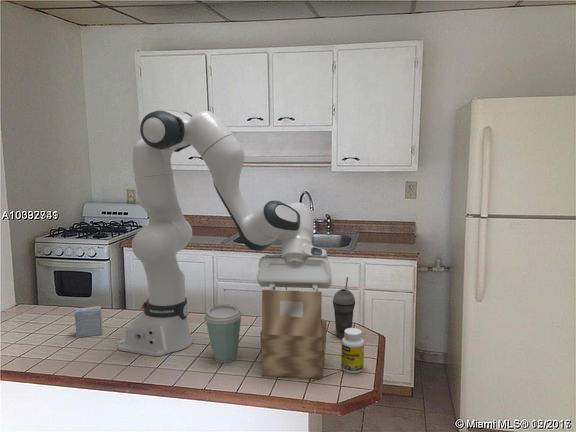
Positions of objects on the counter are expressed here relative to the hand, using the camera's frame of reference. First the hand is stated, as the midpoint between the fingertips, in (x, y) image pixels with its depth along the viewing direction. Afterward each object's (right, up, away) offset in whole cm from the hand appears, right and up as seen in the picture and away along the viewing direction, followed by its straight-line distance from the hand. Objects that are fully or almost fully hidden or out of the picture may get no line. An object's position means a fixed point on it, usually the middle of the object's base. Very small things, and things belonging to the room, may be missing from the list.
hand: (292, 301), depth 128 cm
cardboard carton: (+1, -20, +8) cm, 21 cm away
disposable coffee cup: (-20, -19, +14) cm, 31 cm away
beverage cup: (+17, -17, +28) cm, 37 cm away
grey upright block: (-67, -17, +32) cm, 76 cm away
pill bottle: (+17, -20, +7) cm, 27 cm away
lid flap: (0, -3, 0) cm, 3 cm away
